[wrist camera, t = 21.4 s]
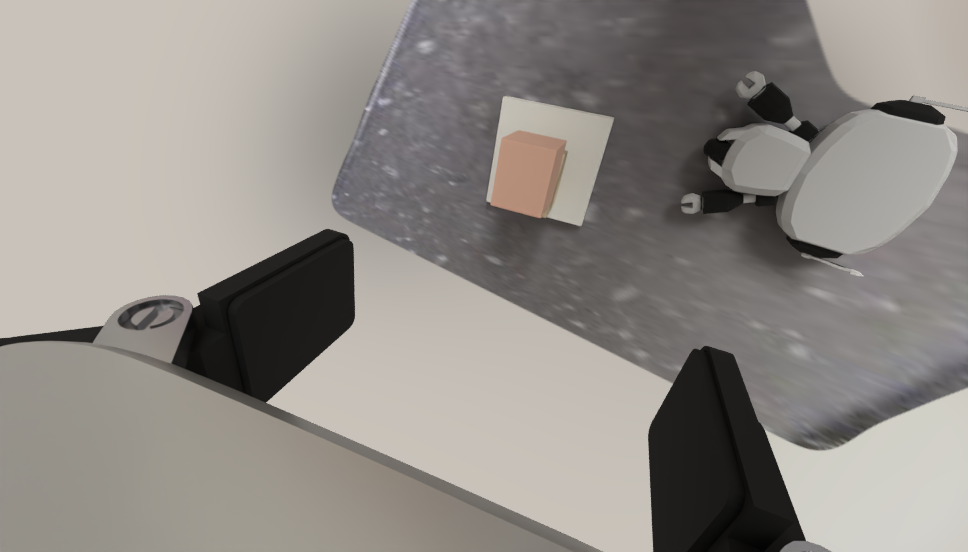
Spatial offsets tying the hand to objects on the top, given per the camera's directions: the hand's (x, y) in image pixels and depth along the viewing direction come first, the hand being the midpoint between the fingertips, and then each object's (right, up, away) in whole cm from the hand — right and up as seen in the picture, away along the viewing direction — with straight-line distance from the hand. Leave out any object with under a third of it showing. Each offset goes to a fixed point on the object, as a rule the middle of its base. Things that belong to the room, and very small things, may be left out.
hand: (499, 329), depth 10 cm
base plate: (+6, +13, +27) cm, 31 cm away
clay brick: (+4, +11, +22) cm, 24 cm away
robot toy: (+25, +11, +21) cm, 35 cm away
